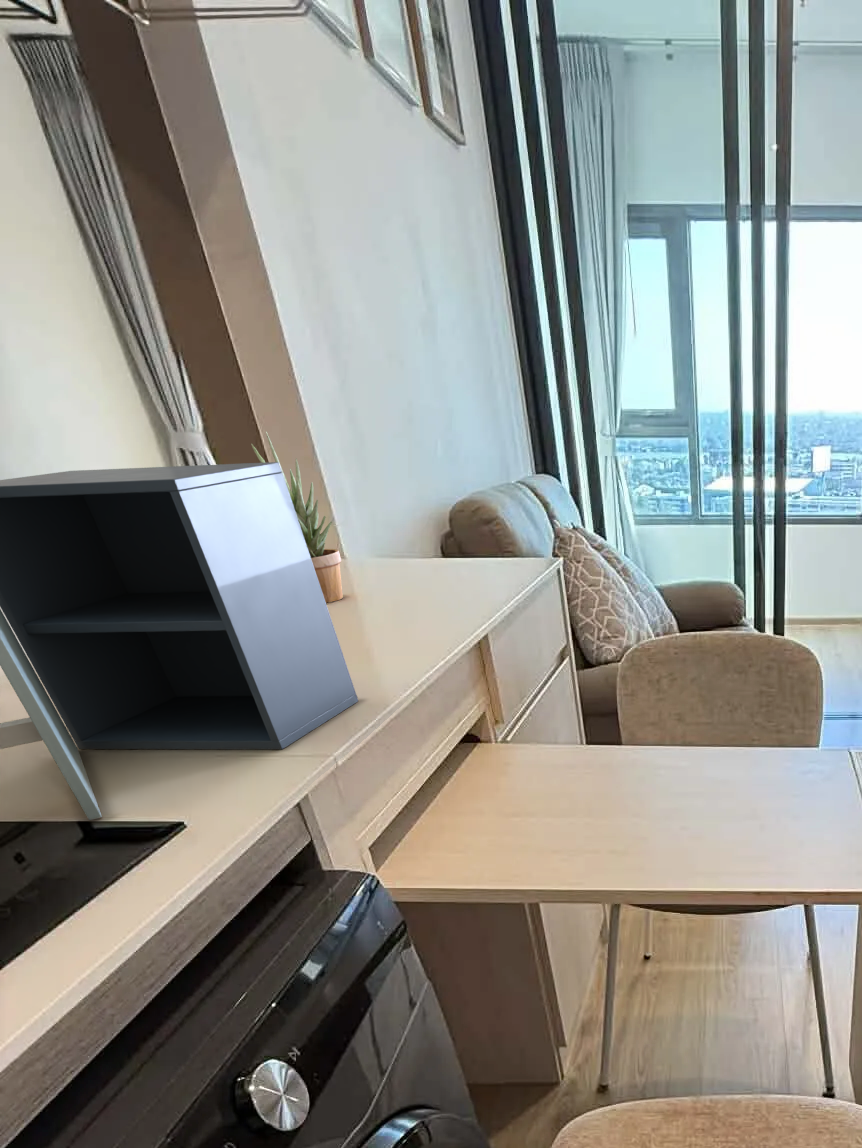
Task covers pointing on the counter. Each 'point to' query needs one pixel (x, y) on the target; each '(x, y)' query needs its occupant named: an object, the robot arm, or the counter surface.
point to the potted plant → (314, 535)
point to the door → (41, 720)
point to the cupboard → (170, 606)
